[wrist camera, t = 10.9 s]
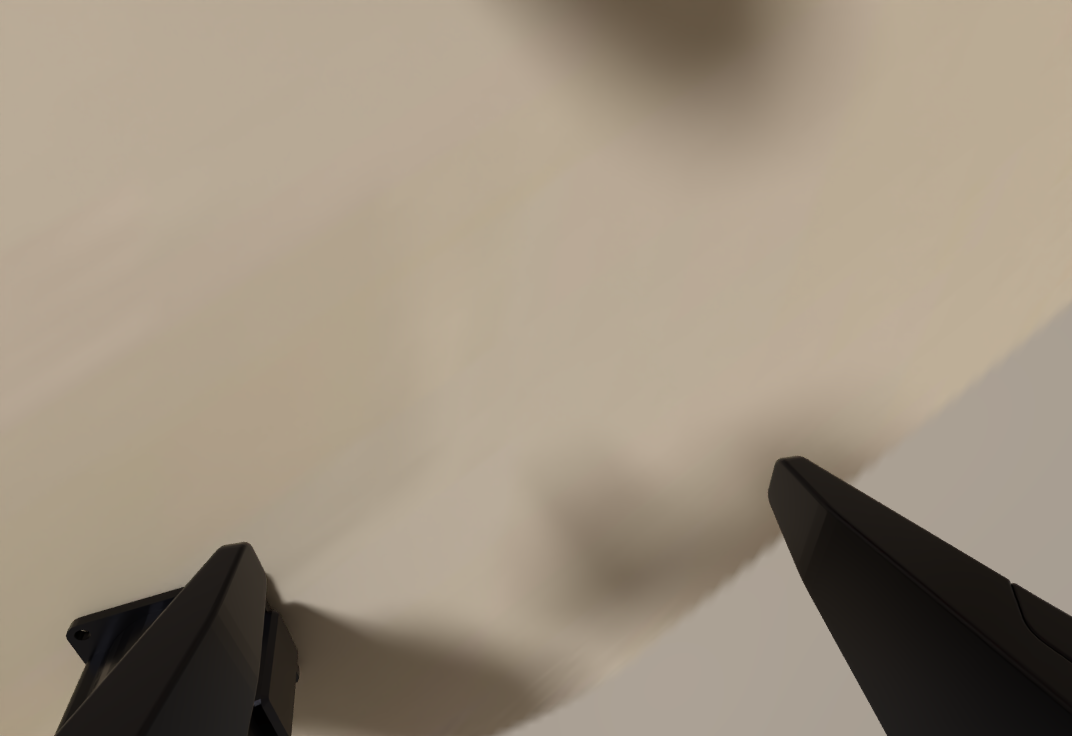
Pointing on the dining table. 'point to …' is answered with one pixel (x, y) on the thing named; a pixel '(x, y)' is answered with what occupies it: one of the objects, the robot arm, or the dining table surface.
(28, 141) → the dining table surface
